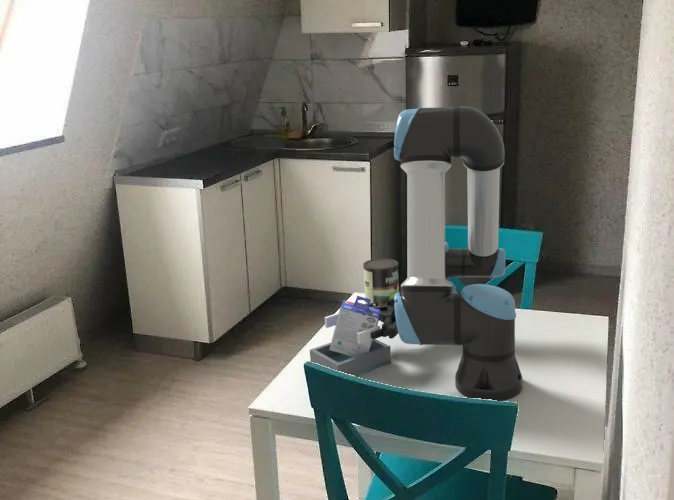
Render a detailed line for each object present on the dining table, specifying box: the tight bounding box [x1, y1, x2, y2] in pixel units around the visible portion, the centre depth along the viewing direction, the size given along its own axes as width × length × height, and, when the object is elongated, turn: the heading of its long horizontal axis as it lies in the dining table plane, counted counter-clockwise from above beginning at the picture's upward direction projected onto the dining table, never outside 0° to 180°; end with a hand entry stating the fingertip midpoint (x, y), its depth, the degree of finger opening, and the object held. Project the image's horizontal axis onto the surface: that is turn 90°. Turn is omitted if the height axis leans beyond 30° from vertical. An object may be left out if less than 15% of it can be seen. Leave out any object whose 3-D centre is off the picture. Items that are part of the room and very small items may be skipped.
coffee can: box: [362, 257, 400, 306], centre depth 218 cm, size 10×10×14 cm
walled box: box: [309, 338, 392, 377], centre depth 184 cm, size 12×16×4 cm
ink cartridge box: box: [329, 295, 380, 357], centre depth 182 cm, size 10×6×14 cm, turn 82°
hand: (341, 330), depth 181 cm, fingers open, 13 cm apart
